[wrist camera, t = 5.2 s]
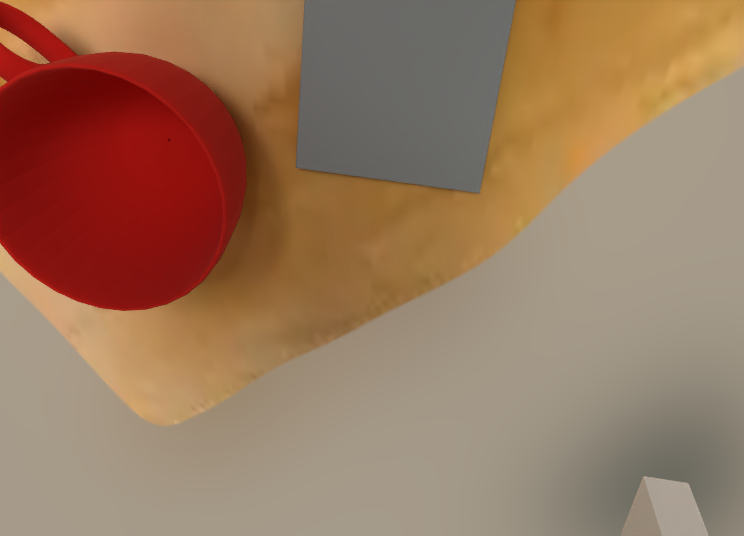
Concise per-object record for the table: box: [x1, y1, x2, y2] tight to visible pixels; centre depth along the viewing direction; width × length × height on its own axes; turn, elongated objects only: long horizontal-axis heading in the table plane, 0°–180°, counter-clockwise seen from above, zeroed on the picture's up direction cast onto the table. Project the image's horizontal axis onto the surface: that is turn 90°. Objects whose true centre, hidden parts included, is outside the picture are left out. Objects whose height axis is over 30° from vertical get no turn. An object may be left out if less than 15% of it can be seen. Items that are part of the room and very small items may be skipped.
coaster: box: [296, 0, 516, 193], centre depth 39 cm, size 11×11×1 cm
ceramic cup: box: [0, 2, 247, 311], centre depth 38 cm, size 13×17×10 cm
